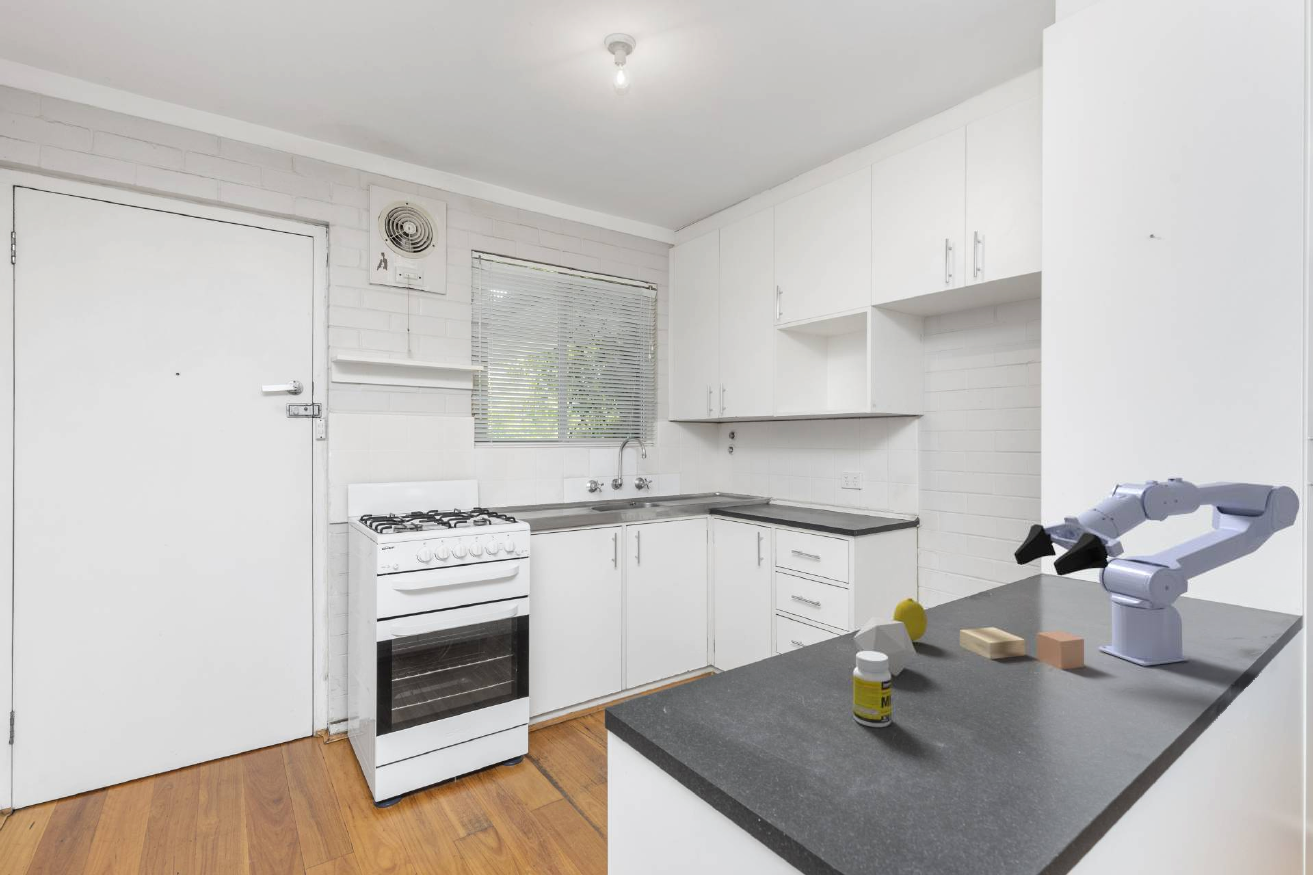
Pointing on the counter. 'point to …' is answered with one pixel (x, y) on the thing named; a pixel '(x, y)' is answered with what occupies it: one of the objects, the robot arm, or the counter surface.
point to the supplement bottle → (872, 689)
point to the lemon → (911, 618)
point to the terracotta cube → (1060, 649)
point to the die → (887, 642)
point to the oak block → (992, 643)
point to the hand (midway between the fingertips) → (1036, 564)
